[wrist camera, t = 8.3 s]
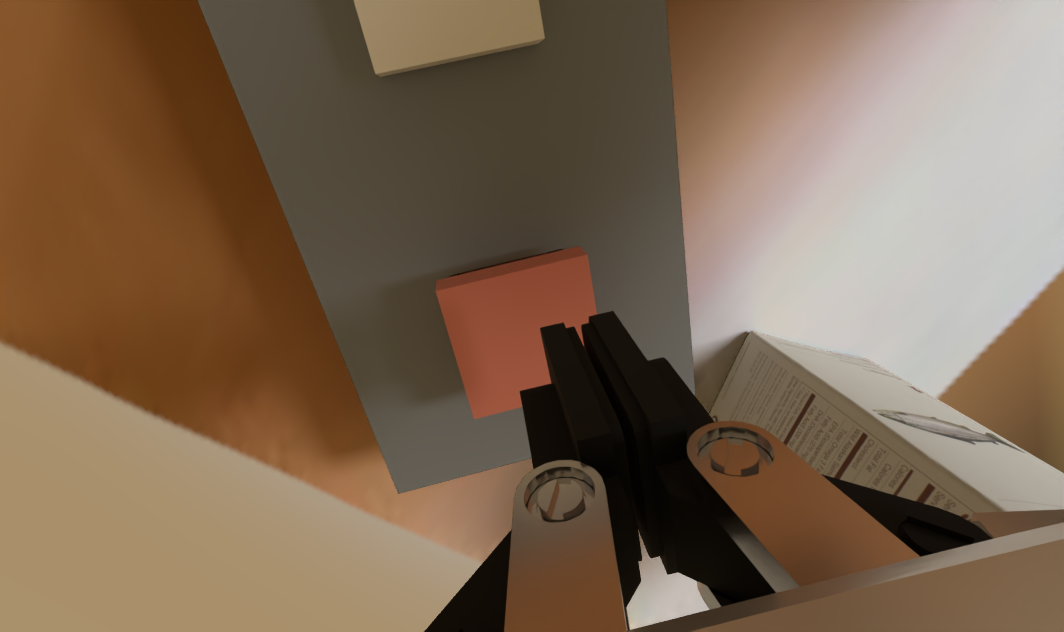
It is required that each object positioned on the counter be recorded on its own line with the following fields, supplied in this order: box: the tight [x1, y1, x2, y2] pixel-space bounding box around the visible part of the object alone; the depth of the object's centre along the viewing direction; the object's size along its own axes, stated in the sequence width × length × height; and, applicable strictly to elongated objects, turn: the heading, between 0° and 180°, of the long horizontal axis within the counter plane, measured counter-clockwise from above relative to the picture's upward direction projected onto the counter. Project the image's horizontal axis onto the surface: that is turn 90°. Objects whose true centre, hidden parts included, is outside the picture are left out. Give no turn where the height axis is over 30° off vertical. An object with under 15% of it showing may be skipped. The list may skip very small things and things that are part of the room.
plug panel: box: [197, 0, 696, 494], centre depth 16 cm, size 12×22×4 cm, turn 12°
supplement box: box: [709, 331, 1064, 521], centre depth 19 cm, size 7×7×13 cm
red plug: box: [436, 246, 597, 419], centre depth 16 cm, size 4×4×4 cm
